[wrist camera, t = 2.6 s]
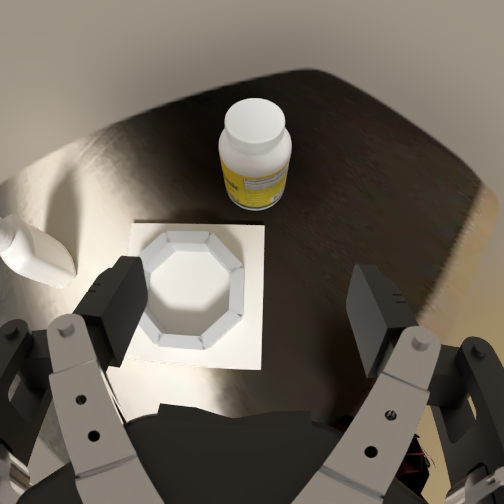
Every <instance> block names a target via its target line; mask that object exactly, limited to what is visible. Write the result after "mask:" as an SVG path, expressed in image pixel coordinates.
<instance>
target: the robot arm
mask: <svg viewBox="0 0 504 504" xmlns="http://www.w3.org/2000/svg"><path fill="white" fill-rule="evenodd" d="M147 301H148V289H147V284H146V279H145V274H144V268H143V263H142V259H141V258H140V257H138V256H121V257H120V258H119V259H118V260H117V262H116V263H115V265H114V266H113V267H112V268H108V269H107V270H105V271H104V272H102V273H101V274H100V275H99V276H98V277H97V278H96V280H95V281H94V283H93V285H91V287H90V288H89V290H88V292H87V293H86V294H85V295H84V297H83V298H82V300H81V301H80V303H79V304H78V306H77V307H76V309H75V310H74V312H73V313H72V314H65V315H62V316H59V317H58V318H56V319H54V320H53V321H52V322H51V323H50V325H49V326H48V328H47V330H37V331H30V329H29V327H28V325H27V323H26V322H25V321H24V320H21V319H15V320H11V321H9V322H7V323H5V324H4V325H3V326H2V327H1V328H0V504H428V503H426V502H425V501H424V500H423V499H421V498H420V497H419V496H418V495H416V494H415V493H414V492H413V491H411V490H410V489H409V488H408V487H406V486H405V485H404V484H403V483H401V482H400V481H399V480H398V479H397V478H395V477H394V476H395V474H396V472H397V470H398V468H399V466H400V464H401V462H402V460H403V458H404V456H405V454H406V452H407V450H408V447H409V445H410V443H411V441H412V438H413V436H414V434H415V431H416V429H417V427H418V424H419V421H420V419H421V417H422V414H423V411H424V409H425V406H426V405H430V406H431V410H432V413H433V417H434V420H435V423H436V427H437V430H438V434H439V438H440V441H441V445H442V449H443V453H444V457H445V461H446V466H447V470H448V475H449V479H450V484H451V489H450V490H449V491H448V493H447V495H446V498H445V504H504V368H503V366H502V364H501V362H500V360H499V358H498V357H497V355H496V353H495V351H494V349H493V348H492V346H491V345H490V344H489V343H488V342H486V341H485V340H483V339H481V338H478V337H468V338H466V339H465V340H464V341H463V343H462V345H461V346H460V348H459V347H453V346H447V345H442V344H441V343H440V340H439V338H438V337H437V336H436V335H435V334H434V333H433V332H432V331H430V330H428V329H426V328H424V327H420V326H419V325H418V323H417V321H416V319H415V317H414V315H413V314H412V312H411V310H410V308H409V306H408V304H407V303H406V301H405V299H404V297H403V296H402V294H401V292H400V290H399V288H398V287H397V285H396V284H395V283H394V282H392V281H391V280H390V279H389V278H388V277H382V275H381V273H380V271H379V269H378V268H377V266H376V265H375V264H355V266H354V269H353V273H352V278H351V282H350V286H349V291H348V295H347V301H346V309H347V314H348V317H349V320H350V324H351V327H352V330H353V333H354V336H355V340H356V343H357V346H358V349H359V353H360V356H361V360H362V363H363V366H364V370H365V373H366V377H367V378H375V377H378V379H377V381H376V383H375V385H374V386H373V388H372V390H371V392H370V393H369V395H368V397H367V398H366V400H365V402H364V404H363V405H362V407H361V409H360V410H359V412H358V413H357V415H356V417H355V418H354V420H353V421H352V423H351V424H350V426H349V428H348V429H347V431H346V432H345V434H343V433H342V432H340V431H339V430H337V429H335V428H333V427H330V426H328V425H325V424H322V423H318V422H314V421H312V419H311V411H273V412H268V413H263V414H258V415H252V416H247V417H241V418H229V417H225V416H222V415H218V414H215V413H212V412H208V411H205V410H202V409H199V408H196V407H186V406H177V405H169V404H161V403H160V406H159V409H158V413H157V414H150V415H145V416H141V417H138V418H135V419H133V420H130V421H128V420H127V418H126V416H125V414H124V412H123V410H122V408H121V406H120V404H119V401H118V399H117V397H116V394H115V392H114V390H113V387H112V385H111V383H110V380H109V378H108V375H107V373H106V371H107V369H108V366H113V367H119V368H120V366H121V364H122V361H123V359H124V357H125V354H126V352H127V349H128V347H129V345H130V342H131V340H132V337H133V335H134V333H135V330H136V328H137V326H138V324H139V321H140V319H141V317H142V315H143V312H144V310H145V308H146V305H147ZM16 374H18V376H19V377H20V379H21V381H20V383H19V385H18V387H17V389H16V391H15V393H14V395H13V397H12V399H11V402H10V401H9V398H8V390H9V388H10V385H11V384H12V382H13V380H14V378H15V376H16ZM470 396H471V398H472V401H473V404H474V406H475V409H476V420H475V418H474V415H473V412H472V409H471V406H470V404H469V401H468V398H469V397H470ZM52 398H53V400H54V404H55V408H56V412H57V416H58V420H59V423H60V427H61V430H62V434H63V437H64V441H65V444H66V447H67V450H68V453H69V456H70V459H71V461H70V462H69V463H67V464H66V465H64V466H63V467H61V468H60V469H58V470H57V471H55V472H54V473H52V474H51V475H49V476H48V477H46V478H45V479H43V480H41V481H40V482H39V483H37V484H35V485H34V486H33V485H32V483H31V482H30V475H29V471H28V469H27V466H28V463H29V459H30V456H31V454H32V451H33V447H34V444H35V442H36V439H37V436H38V434H39V431H40V428H41V425H42V423H43V420H44V418H45V415H46V412H47V410H48V407H49V405H50V402H51V400H52Z"/></svg>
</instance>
